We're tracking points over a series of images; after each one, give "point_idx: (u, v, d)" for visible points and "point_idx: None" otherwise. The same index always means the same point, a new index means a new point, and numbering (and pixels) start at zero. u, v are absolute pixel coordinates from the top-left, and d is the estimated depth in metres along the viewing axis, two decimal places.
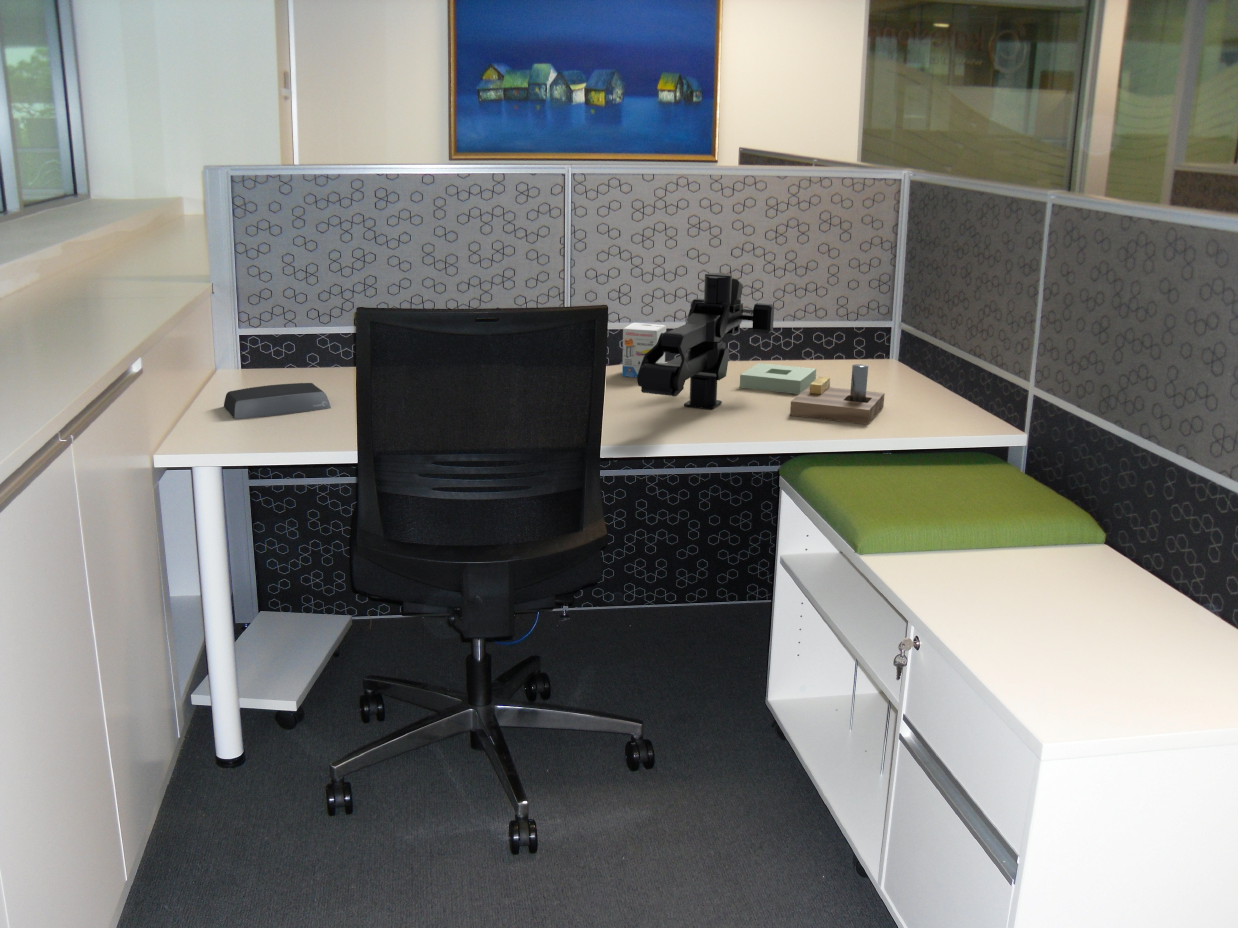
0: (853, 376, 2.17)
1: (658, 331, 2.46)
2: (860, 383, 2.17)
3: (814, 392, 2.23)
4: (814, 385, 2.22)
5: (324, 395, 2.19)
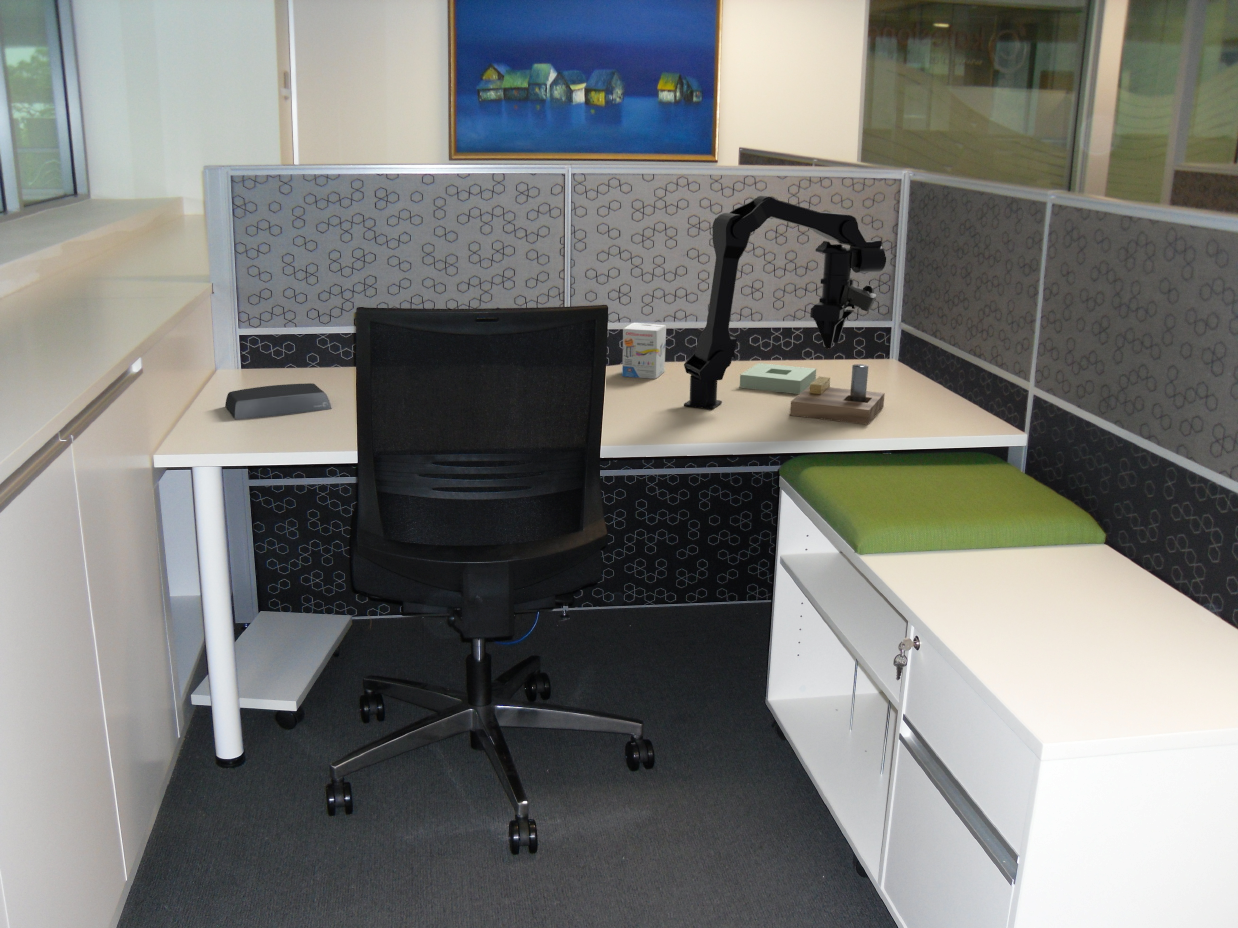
0: (853, 376, 2.17)
1: (658, 331, 2.46)
2: (860, 383, 2.17)
3: (814, 392, 2.23)
4: (814, 385, 2.22)
5: (325, 396, 2.19)
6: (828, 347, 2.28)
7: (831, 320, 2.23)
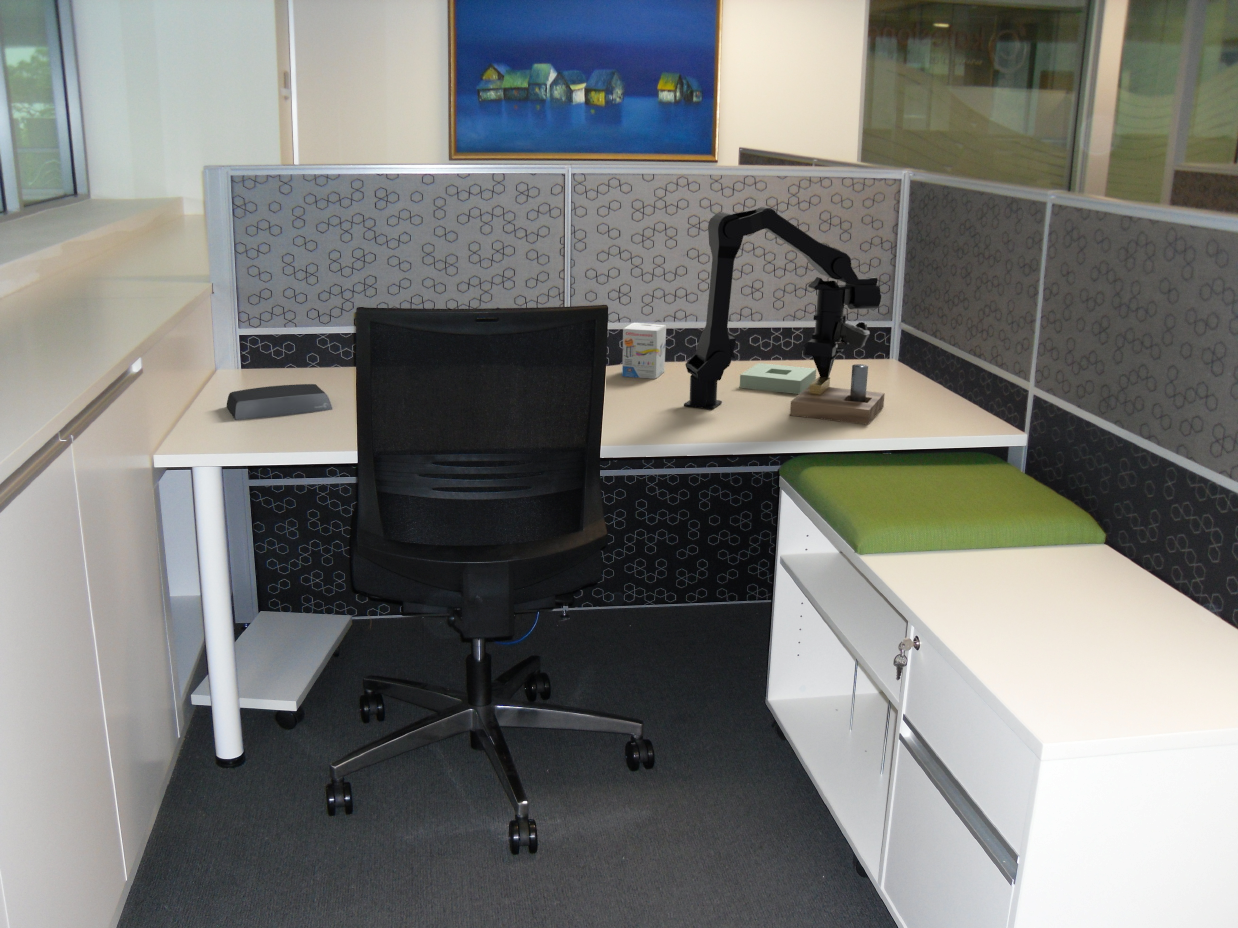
0: (853, 376, 2.17)
1: (658, 331, 2.46)
2: (860, 383, 2.17)
3: (814, 392, 2.23)
4: (814, 385, 2.22)
5: (326, 397, 2.18)
6: None
7: None
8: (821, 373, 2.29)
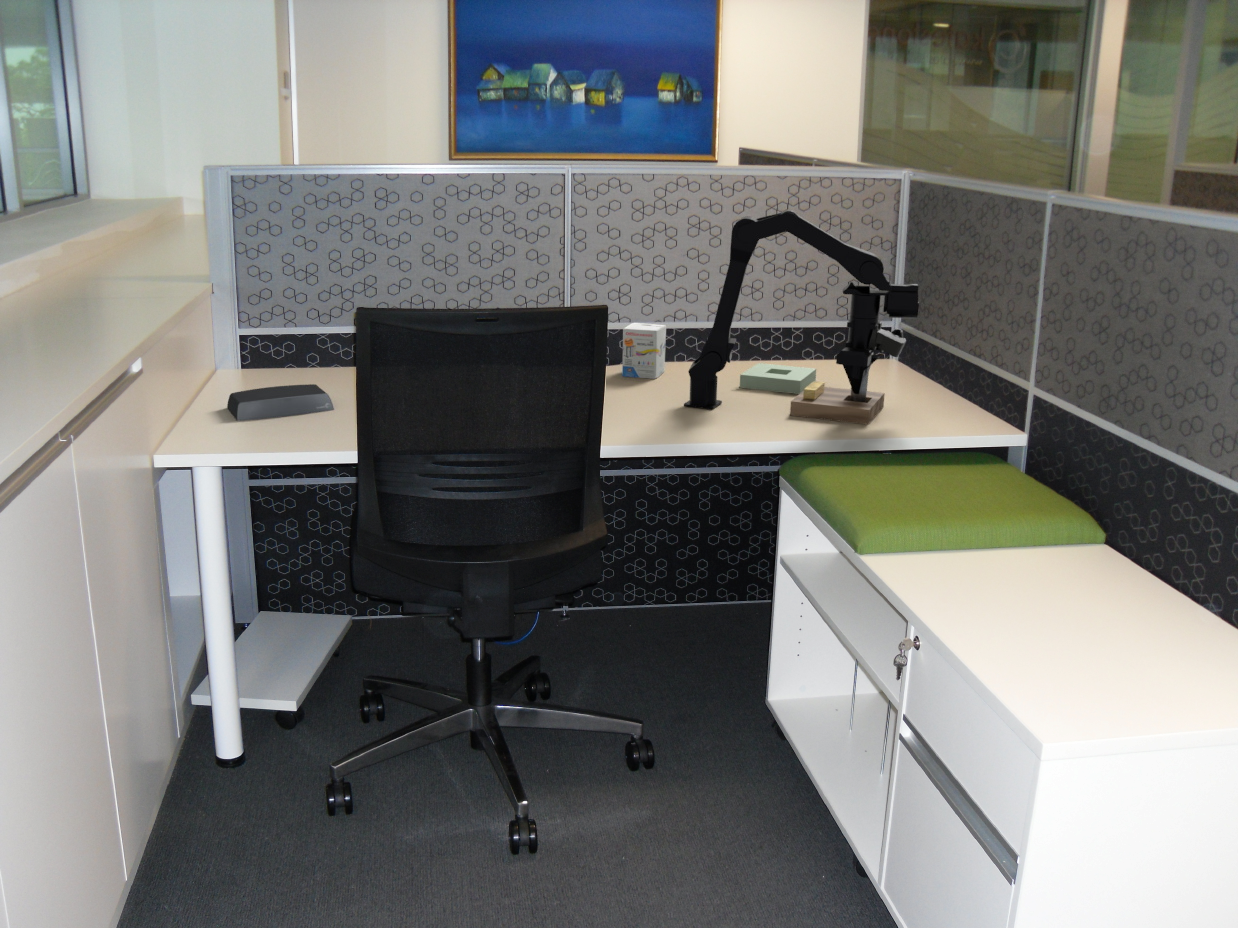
0: None
1: (658, 331, 2.46)
2: None
3: (808, 397, 2.18)
4: (808, 390, 2.18)
5: (327, 397, 2.18)
6: (856, 392, 2.17)
7: None
8: (853, 384, 2.16)
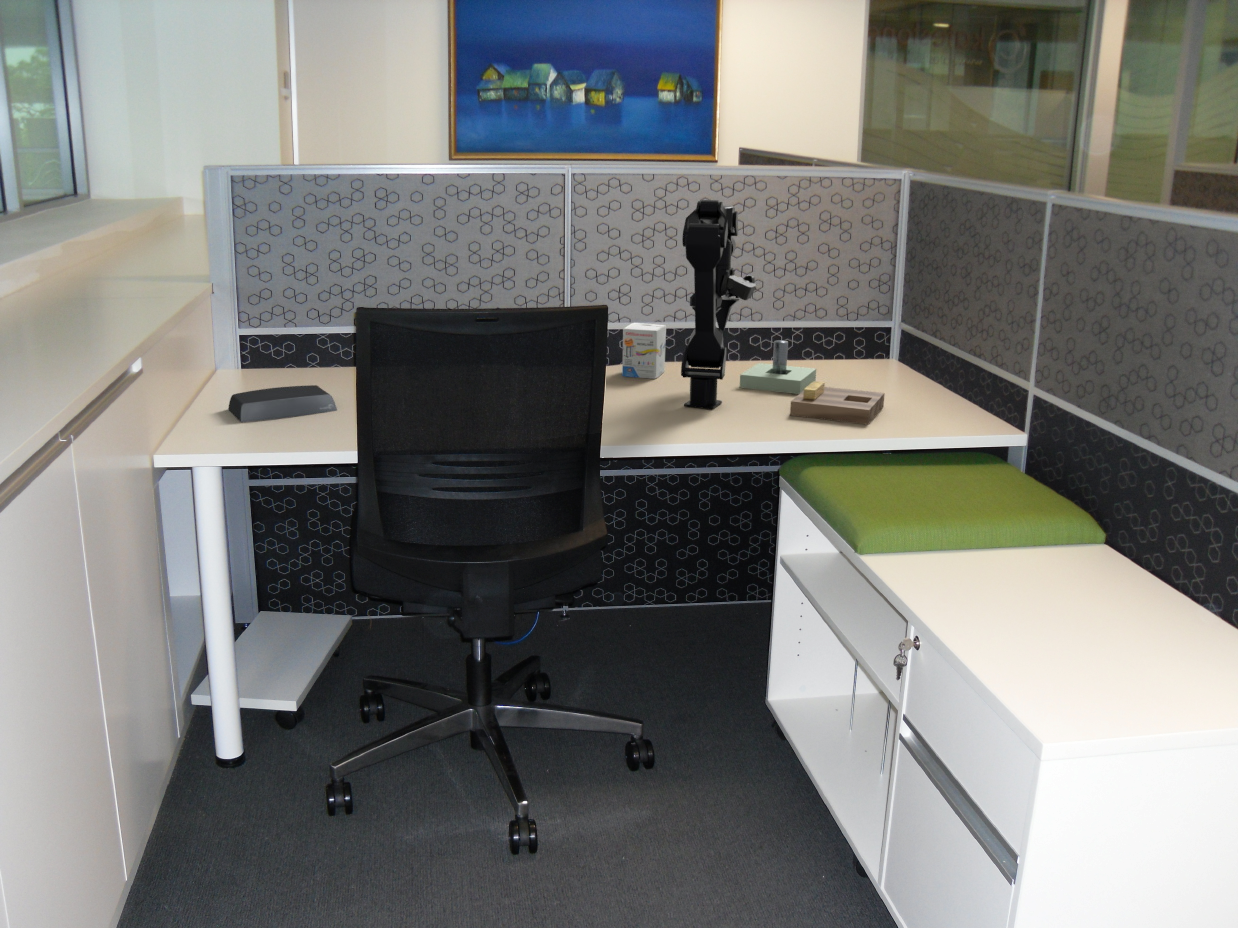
0: (774, 351, 2.41)
1: (658, 331, 2.46)
2: (780, 357, 2.41)
3: (808, 397, 2.18)
4: (808, 390, 2.18)
5: (330, 398, 2.18)
6: None
7: None
8: None
